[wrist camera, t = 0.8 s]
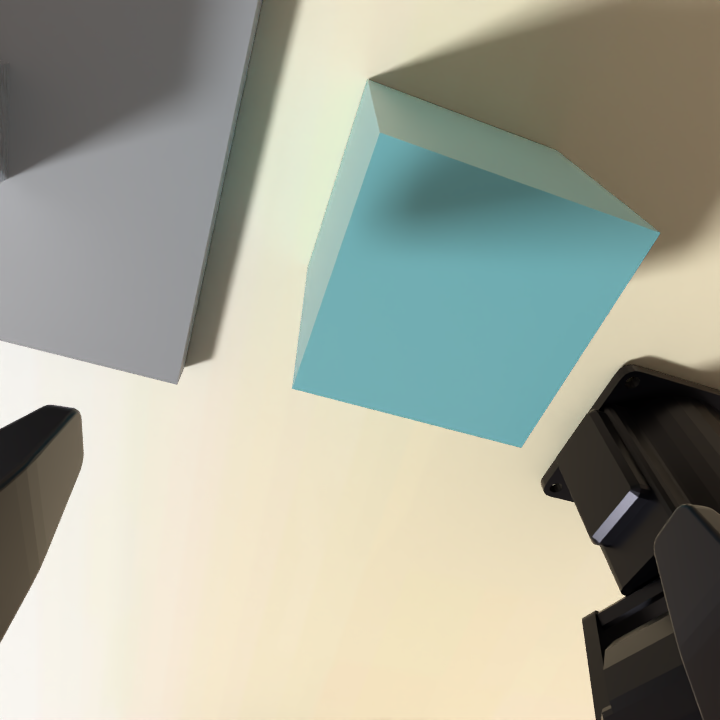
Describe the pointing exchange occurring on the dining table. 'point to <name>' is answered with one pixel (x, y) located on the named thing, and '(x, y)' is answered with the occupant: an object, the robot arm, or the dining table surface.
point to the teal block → (458, 271)
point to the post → (4, 119)
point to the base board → (115, 171)
